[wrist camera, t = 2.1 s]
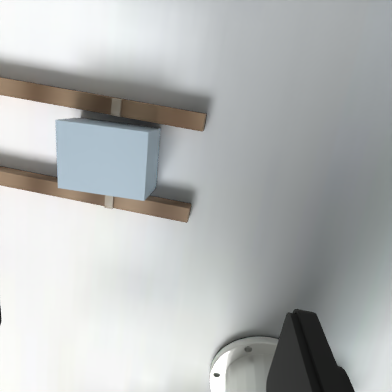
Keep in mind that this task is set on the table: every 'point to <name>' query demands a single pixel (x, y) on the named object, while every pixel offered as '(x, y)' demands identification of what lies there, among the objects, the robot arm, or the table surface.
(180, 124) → the wooden rail frame
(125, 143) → the block
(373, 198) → the table surface
